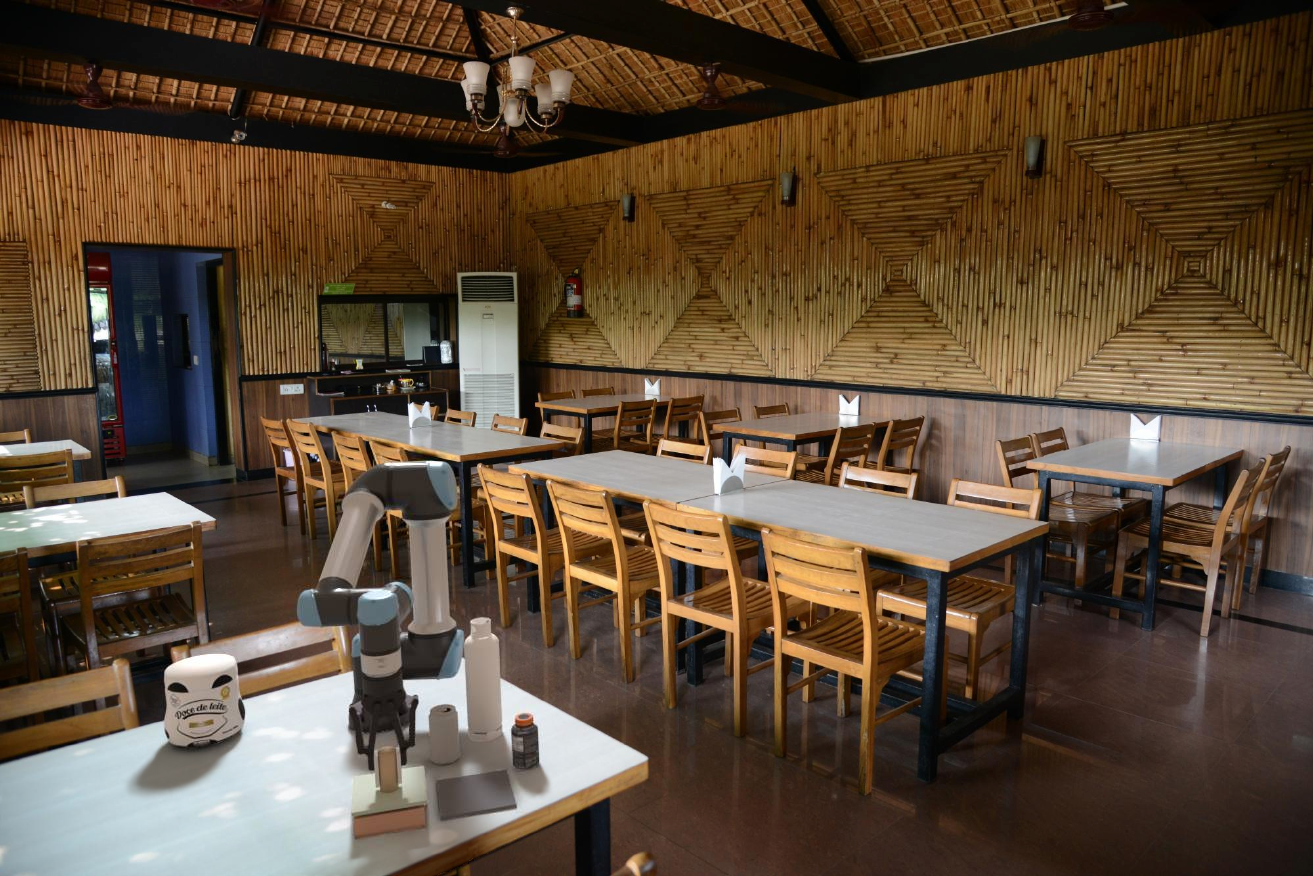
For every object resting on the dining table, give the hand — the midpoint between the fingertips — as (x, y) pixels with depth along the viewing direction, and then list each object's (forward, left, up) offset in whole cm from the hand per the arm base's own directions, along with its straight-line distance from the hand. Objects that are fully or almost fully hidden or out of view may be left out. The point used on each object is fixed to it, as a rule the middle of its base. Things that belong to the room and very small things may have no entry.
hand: (388, 782), depth 176 cm
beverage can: (-20, +12, -7) cm, 24 cm away
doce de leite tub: (-50, -42, -7) cm, 65 cm away
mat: (-2, +17, -7) cm, 18 cm away
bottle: (-30, +22, -7) cm, 38 cm away
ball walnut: (+2, +2, -5) cm, 5 cm away
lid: (0, 0, -2) cm, 2 cm away
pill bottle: (-12, +29, -7) cm, 32 cm away
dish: (0, 0, -7) cm, 7 cm away
